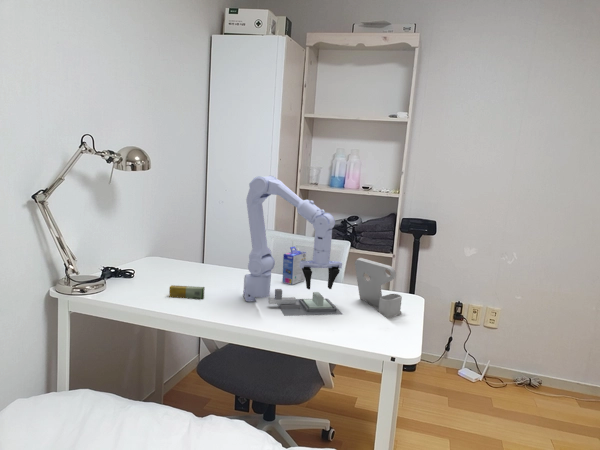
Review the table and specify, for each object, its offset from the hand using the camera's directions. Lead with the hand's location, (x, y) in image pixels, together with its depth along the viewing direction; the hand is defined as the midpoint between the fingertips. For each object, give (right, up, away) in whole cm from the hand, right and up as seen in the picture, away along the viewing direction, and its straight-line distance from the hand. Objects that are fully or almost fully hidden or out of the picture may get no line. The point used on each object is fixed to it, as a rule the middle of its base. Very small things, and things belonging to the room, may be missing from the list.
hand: (318, 288), depth 158 cm
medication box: (-46, -4, +5) cm, 47 cm away
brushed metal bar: (-12, -5, -3) cm, 13 cm away
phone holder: (+20, -9, +8) cm, 23 cm away
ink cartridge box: (-9, -2, +35) cm, 36 cm away
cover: (0, -6, +1) cm, 6 cm away
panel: (-4, -8, 0) cm, 9 cm away
